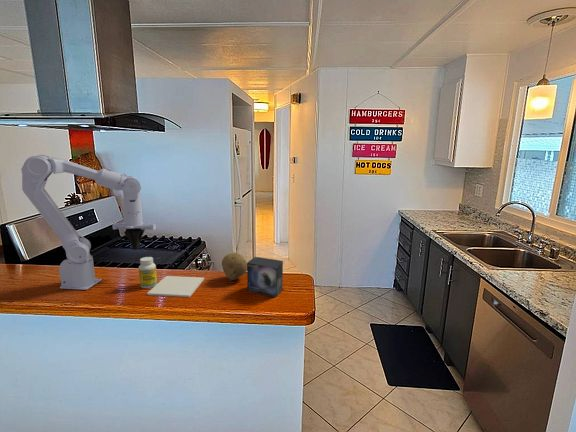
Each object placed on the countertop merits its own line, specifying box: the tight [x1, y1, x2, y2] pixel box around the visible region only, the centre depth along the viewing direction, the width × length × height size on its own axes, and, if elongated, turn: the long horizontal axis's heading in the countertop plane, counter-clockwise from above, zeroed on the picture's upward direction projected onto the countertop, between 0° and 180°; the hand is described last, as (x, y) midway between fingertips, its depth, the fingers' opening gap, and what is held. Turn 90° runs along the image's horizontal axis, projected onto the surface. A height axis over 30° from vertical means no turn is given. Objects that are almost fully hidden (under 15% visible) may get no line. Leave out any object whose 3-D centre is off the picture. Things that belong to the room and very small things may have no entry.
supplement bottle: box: [138, 256, 158, 289], centre depth 109 cm, size 5×5×10 cm
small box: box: [246, 256, 284, 298], centre depth 106 cm, size 11×6×10 cm, turn 70°
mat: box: [146, 275, 205, 298], centre depth 109 cm, size 14×14×1 cm
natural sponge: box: [221, 252, 248, 281], centre depth 114 cm, size 9×9×10 cm
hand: (136, 248), depth 115 cm, fingers closed
